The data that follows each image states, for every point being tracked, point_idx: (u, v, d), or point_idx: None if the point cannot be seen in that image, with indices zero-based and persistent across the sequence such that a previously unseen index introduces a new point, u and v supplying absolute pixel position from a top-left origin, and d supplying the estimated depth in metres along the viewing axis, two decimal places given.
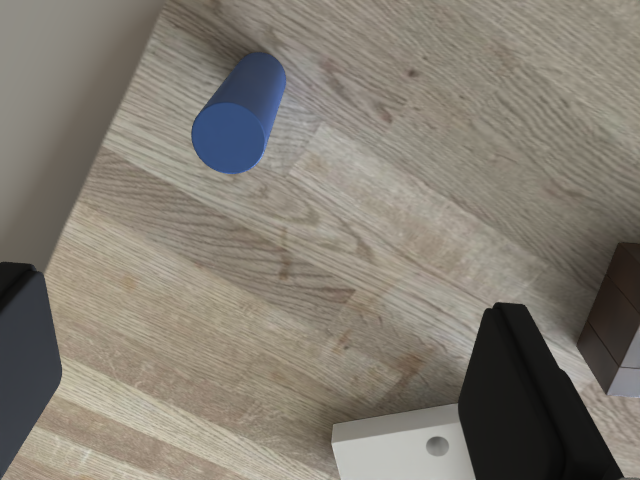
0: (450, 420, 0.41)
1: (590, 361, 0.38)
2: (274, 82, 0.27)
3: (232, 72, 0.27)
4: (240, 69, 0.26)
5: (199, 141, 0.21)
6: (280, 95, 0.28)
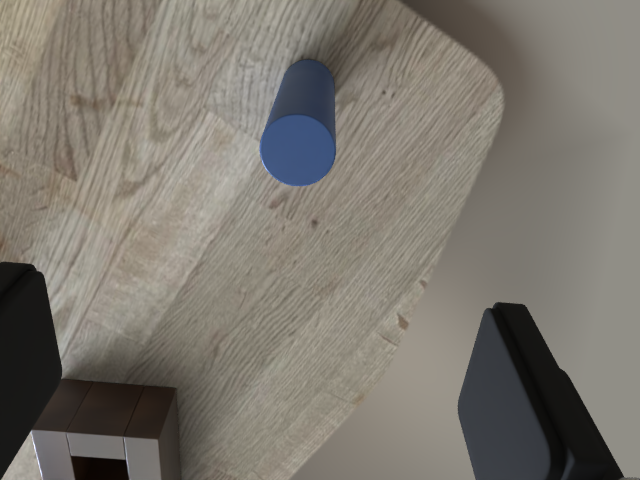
0: None
1: (54, 400, 0.40)
2: None
3: (330, 90, 0.26)
4: (334, 101, 0.26)
5: (294, 121, 0.20)
6: None
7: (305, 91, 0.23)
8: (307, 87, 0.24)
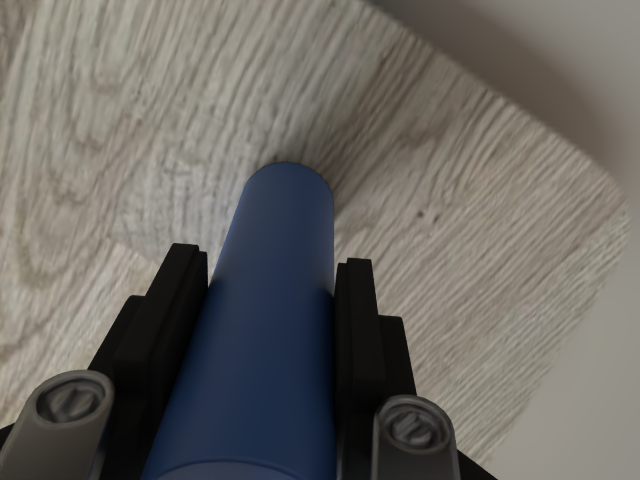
0: None
1: None
2: None
3: (325, 252, 0.13)
4: (332, 272, 0.13)
5: (220, 473, 0.07)
6: None
7: (266, 301, 0.10)
8: (273, 278, 0.11)
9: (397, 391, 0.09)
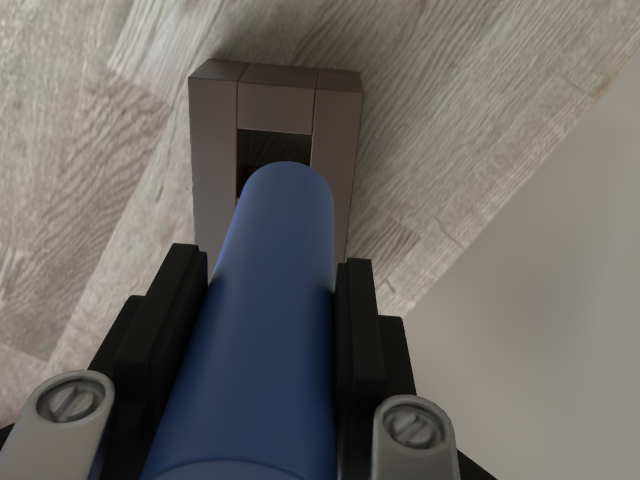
0: None
1: (208, 66, 0.30)
2: None
3: (325, 251, 0.13)
4: (333, 271, 0.13)
5: (220, 472, 0.07)
6: None
7: (266, 299, 0.10)
8: (273, 277, 0.11)
9: (397, 391, 0.09)
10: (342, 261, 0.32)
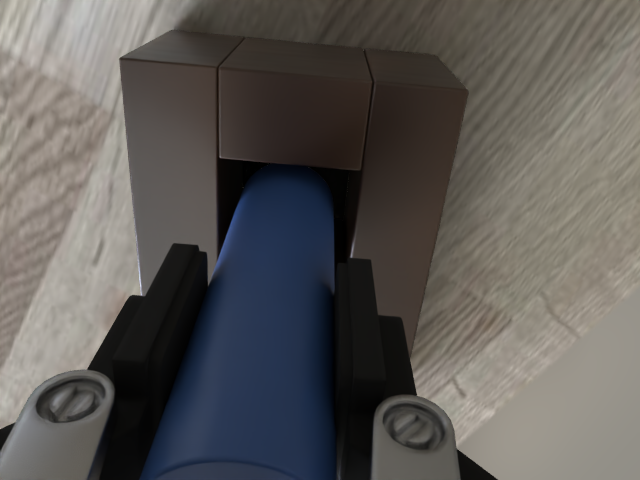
0: None
1: (167, 41, 0.16)
2: None
3: (325, 251, 0.13)
4: (332, 272, 0.13)
5: (219, 473, 0.07)
6: None
7: (266, 300, 0.10)
8: (273, 278, 0.11)
9: (397, 391, 0.09)
10: None
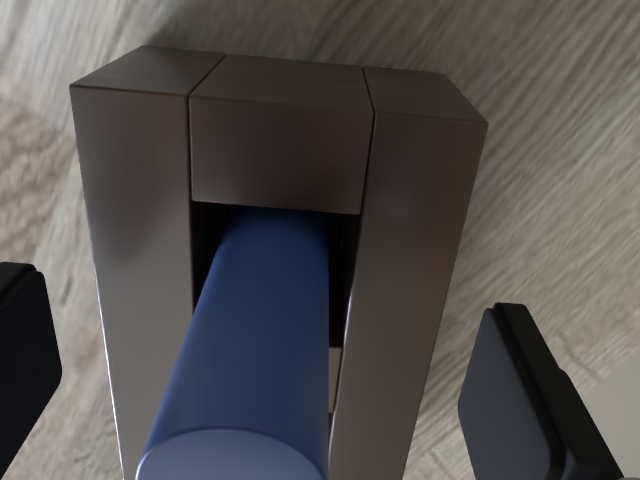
0: None
1: (133, 61, 0.14)
2: None
3: (319, 242, 0.14)
4: (327, 262, 0.14)
5: (218, 440, 0.08)
6: None
7: (263, 286, 0.11)
8: (269, 265, 0.11)
9: None
10: (407, 446, 0.16)
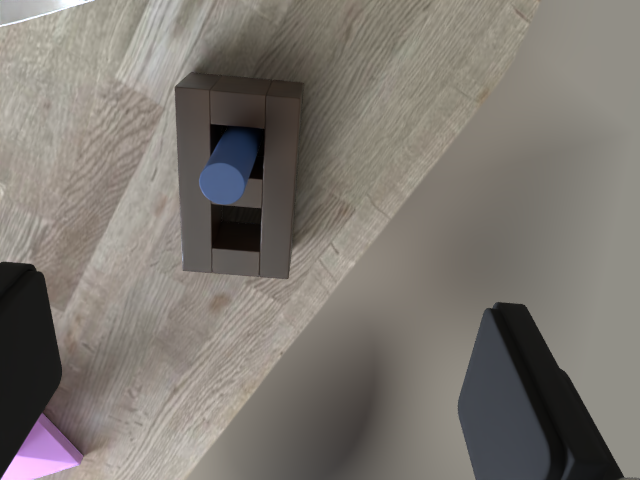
0: None
1: (190, 78, 0.40)
2: None
3: (253, 140, 0.40)
4: (255, 146, 0.40)
5: (219, 167, 0.34)
6: None
7: (231, 144, 0.37)
8: (234, 141, 0.38)
9: None
10: (290, 223, 0.43)
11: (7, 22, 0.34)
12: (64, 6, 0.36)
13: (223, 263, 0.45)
